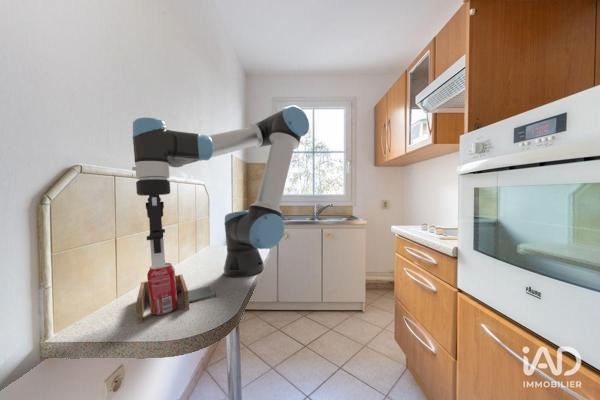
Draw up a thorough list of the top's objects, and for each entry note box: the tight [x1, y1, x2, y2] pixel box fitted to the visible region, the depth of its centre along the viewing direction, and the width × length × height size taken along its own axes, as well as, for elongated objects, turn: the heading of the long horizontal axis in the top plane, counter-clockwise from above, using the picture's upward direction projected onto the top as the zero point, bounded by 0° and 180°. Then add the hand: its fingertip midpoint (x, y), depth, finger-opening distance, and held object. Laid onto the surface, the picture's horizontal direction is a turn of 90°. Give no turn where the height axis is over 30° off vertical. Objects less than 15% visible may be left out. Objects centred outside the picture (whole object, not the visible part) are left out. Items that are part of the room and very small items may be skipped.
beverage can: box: [146, 262, 178, 316], centre depth 64 cm, size 6×6×12 cm
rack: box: [136, 273, 190, 324], centre depth 68 cm, size 11×18×5 cm, turn 30°
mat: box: [188, 285, 216, 304], centre depth 73 cm, size 7×9×1 cm
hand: (158, 261), depth 63 cm, fingers open, 13 cm apart
